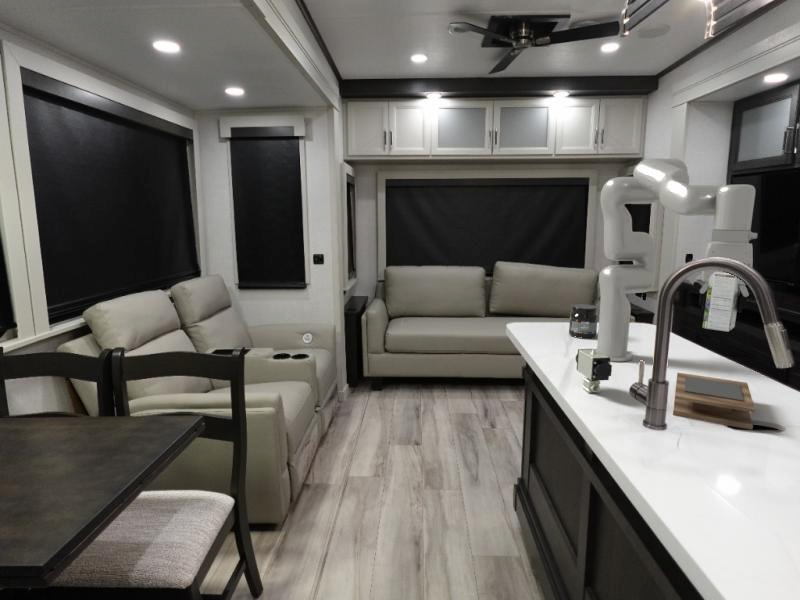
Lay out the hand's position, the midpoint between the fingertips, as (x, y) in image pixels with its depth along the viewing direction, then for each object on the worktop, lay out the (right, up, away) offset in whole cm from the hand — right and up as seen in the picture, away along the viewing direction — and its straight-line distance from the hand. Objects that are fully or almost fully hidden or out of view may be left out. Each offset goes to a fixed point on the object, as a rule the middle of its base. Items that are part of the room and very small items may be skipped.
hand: (721, 309), depth 119 cm
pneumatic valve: (-25, -23, +16) cm, 38 cm away
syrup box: (0, -5, +1) cm, 5 cm away
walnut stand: (0, -25, +5) cm, 26 cm away
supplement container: (-6, -12, +75) cm, 76 cm away
